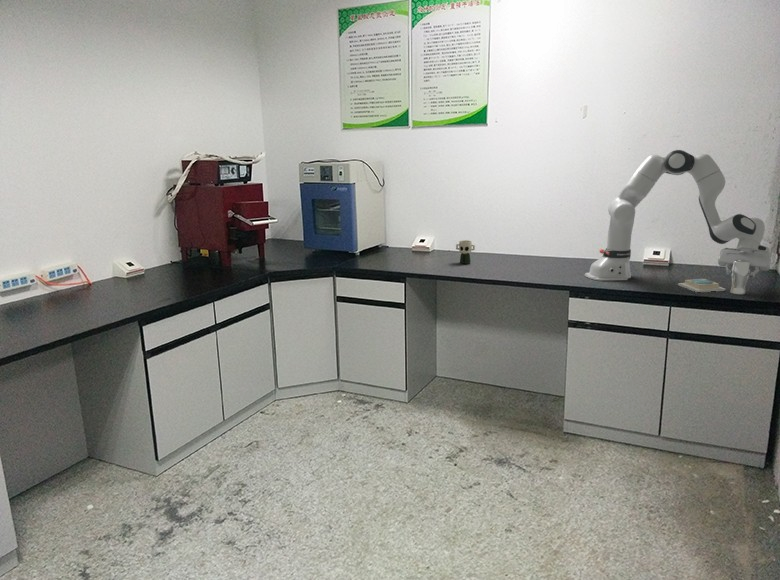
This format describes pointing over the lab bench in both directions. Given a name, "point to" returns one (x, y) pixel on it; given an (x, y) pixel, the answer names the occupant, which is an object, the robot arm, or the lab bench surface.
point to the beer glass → (739, 276)
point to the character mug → (465, 250)
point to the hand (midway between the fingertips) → (739, 275)
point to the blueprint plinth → (701, 285)
